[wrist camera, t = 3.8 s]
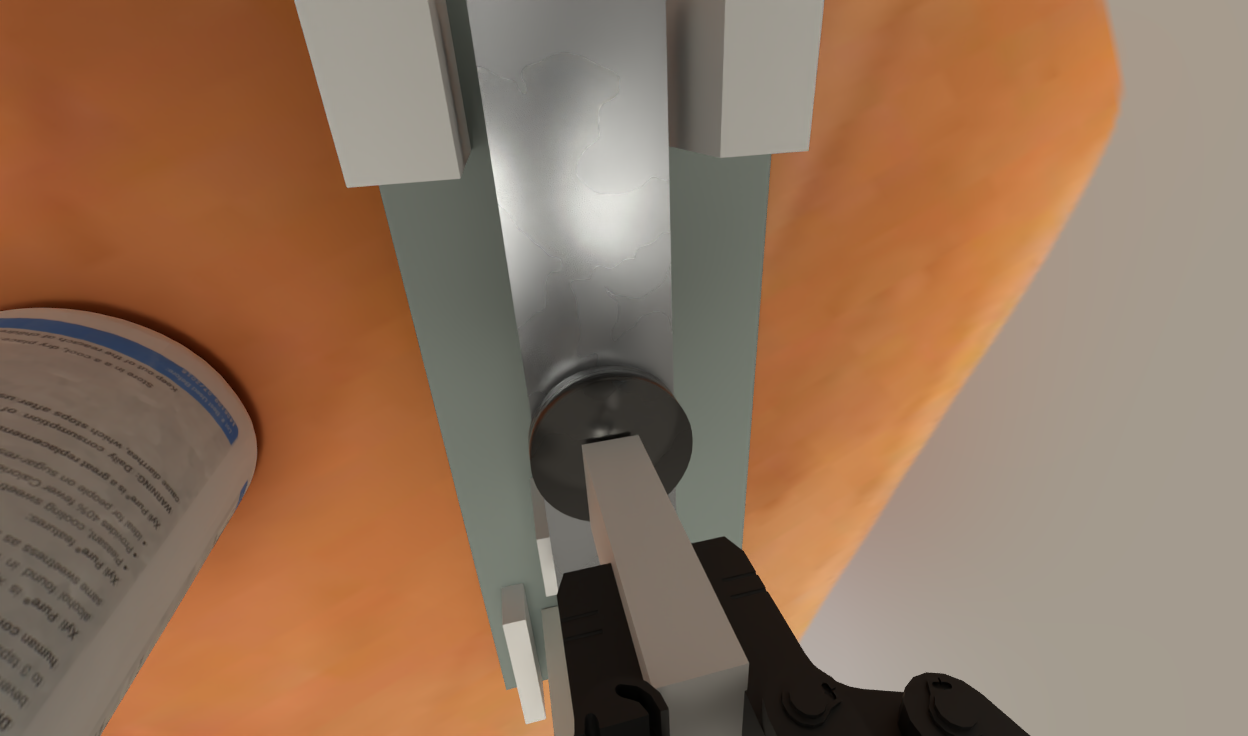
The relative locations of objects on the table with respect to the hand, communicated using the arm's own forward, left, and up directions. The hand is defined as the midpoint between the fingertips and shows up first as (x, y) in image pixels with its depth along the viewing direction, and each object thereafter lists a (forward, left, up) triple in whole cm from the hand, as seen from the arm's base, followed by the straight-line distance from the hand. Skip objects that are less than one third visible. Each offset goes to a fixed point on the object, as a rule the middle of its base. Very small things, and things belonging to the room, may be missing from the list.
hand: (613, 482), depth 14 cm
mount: (+3, +1, -8) cm, 9 cm away
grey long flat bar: (-2, 0, -3) cm, 4 cm away
